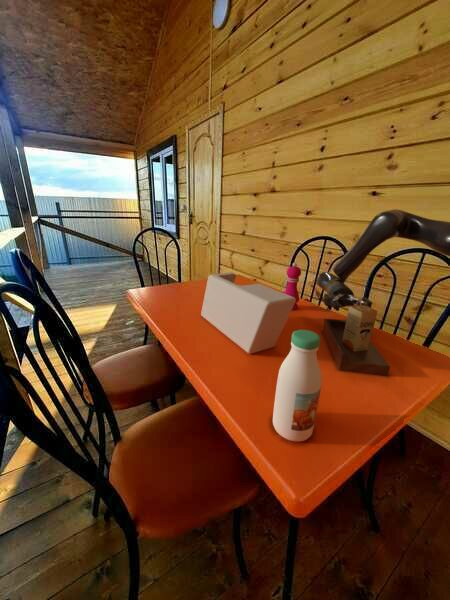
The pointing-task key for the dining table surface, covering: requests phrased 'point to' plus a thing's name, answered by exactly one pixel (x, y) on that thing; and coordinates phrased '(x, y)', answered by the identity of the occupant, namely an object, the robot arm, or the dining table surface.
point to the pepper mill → (293, 283)
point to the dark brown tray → (352, 352)
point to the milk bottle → (298, 388)
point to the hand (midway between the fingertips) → (352, 309)
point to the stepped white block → (246, 311)
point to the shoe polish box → (359, 327)
